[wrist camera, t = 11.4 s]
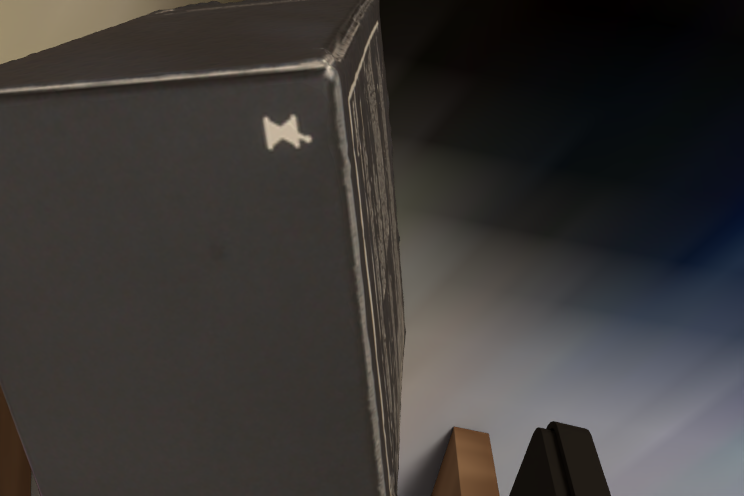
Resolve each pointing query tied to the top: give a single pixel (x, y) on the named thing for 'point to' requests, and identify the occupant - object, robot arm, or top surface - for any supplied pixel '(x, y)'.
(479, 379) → the top surface
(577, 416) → the top surface
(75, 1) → the top surface
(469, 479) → the wooden u-shaped frame
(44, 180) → the small box
